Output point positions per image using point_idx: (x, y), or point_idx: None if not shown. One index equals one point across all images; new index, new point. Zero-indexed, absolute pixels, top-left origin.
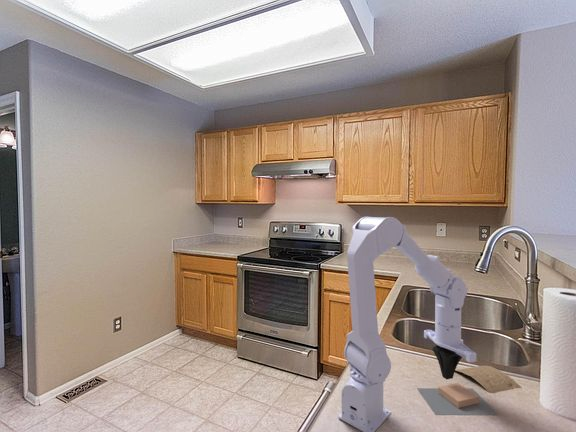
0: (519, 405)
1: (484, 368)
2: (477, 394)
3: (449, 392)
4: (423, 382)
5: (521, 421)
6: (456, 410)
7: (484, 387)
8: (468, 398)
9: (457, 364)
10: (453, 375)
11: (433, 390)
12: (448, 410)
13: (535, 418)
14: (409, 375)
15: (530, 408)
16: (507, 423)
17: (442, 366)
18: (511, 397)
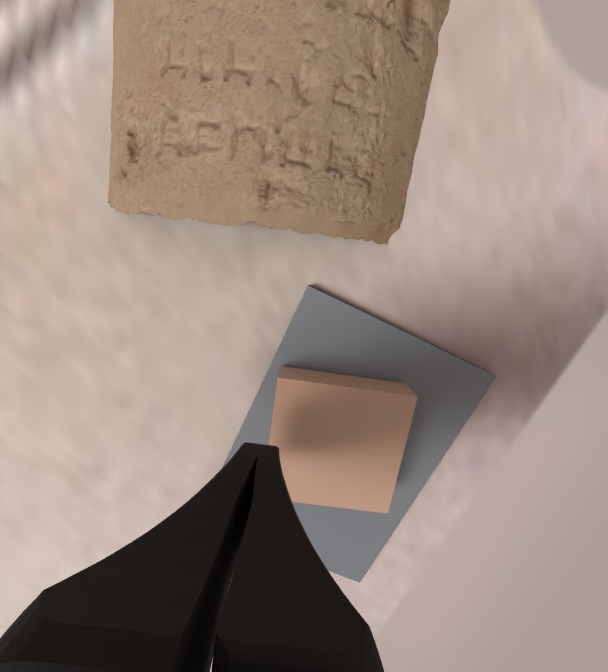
0: (507, 191)
1: None
2: (356, 316)
3: (321, 491)
4: (160, 445)
5: (559, 318)
6: None
7: (349, 235)
8: (398, 454)
9: (299, 521)
10: (278, 455)
11: None
12: (367, 528)
13: (592, 234)
14: (84, 457)
15: (551, 163)
16: (527, 385)
17: (231, 575)
18: (451, 149)
